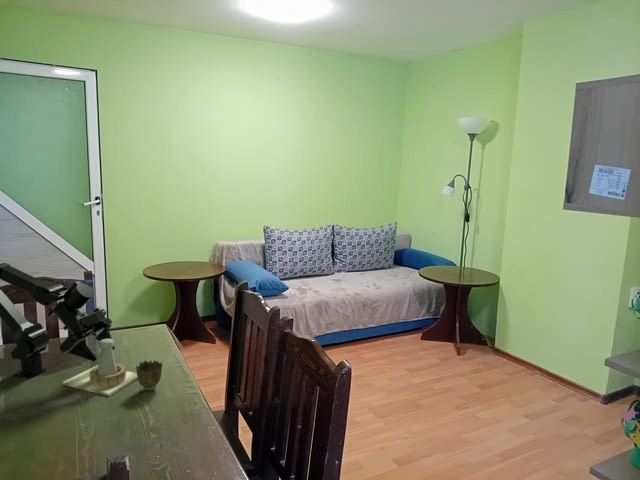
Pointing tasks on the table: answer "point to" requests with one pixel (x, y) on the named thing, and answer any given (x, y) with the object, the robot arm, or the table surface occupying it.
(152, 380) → the cup
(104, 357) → the salt shaker
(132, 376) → the socket
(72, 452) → the table surface
